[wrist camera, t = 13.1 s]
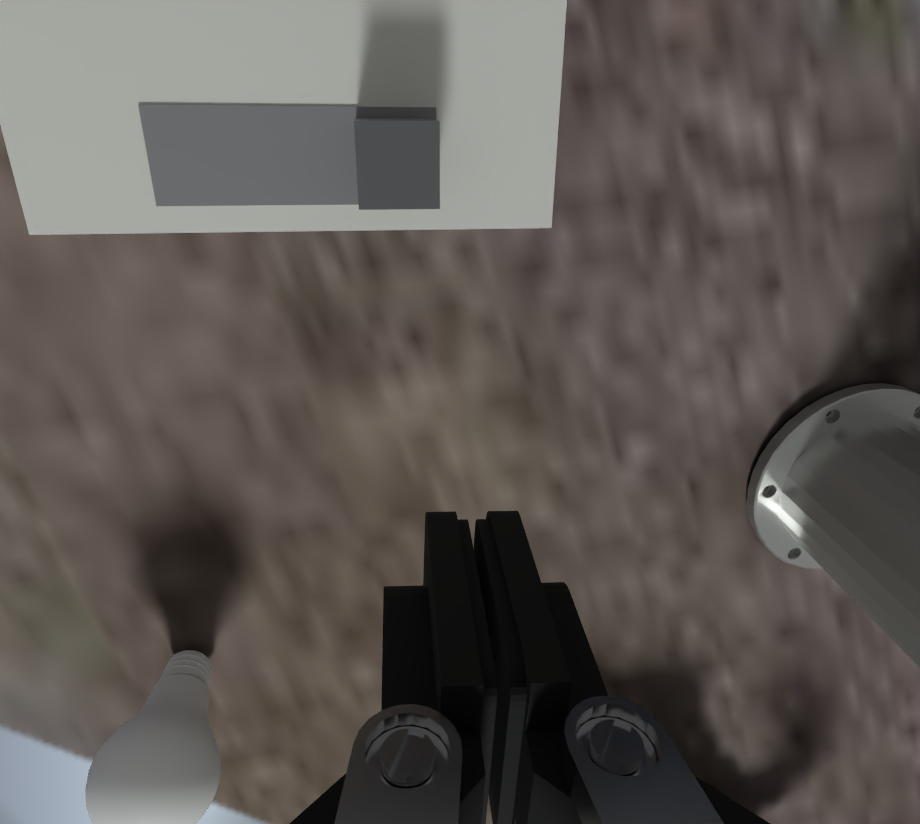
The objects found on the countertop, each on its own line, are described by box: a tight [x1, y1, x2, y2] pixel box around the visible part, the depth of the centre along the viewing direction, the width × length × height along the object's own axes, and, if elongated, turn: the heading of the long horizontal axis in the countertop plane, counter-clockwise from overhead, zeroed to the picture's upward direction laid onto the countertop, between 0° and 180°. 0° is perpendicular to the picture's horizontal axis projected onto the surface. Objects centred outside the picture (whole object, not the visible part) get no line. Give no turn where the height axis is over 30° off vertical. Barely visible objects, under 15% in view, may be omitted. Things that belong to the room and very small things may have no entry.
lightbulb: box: [86, 650, 221, 824], centre depth 35 cm, size 6×6×11 cm
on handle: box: [354, 118, 440, 210], centre depth 26 cm, size 3×3×4 cm
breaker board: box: [0, 0, 567, 235], centre depth 26 cm, size 22×16×2 cm
